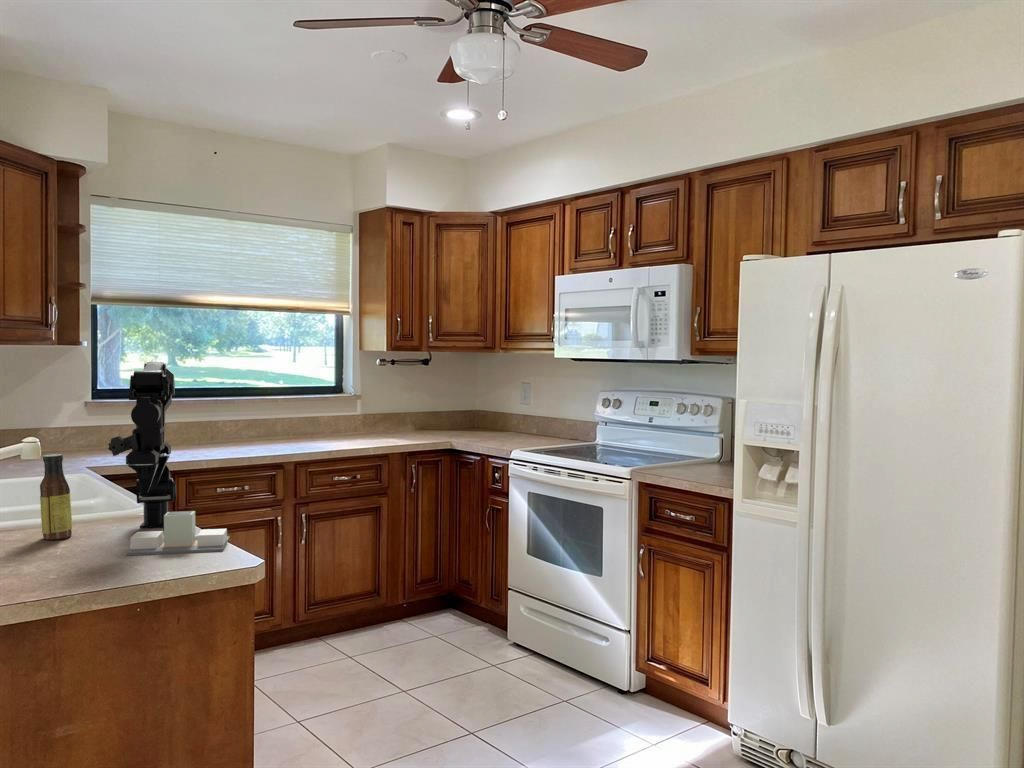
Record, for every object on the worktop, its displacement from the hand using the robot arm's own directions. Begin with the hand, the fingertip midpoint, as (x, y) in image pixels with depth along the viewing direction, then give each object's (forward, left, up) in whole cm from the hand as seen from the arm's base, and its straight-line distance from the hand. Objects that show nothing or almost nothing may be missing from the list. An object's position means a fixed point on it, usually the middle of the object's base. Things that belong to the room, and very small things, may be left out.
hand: (149, 489), depth 187 cm
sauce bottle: (-6, -22, -12) cm, 26 cm away
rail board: (+8, +8, -12) cm, 16 cm away
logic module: (+8, +8, -11) cm, 16 cm away
